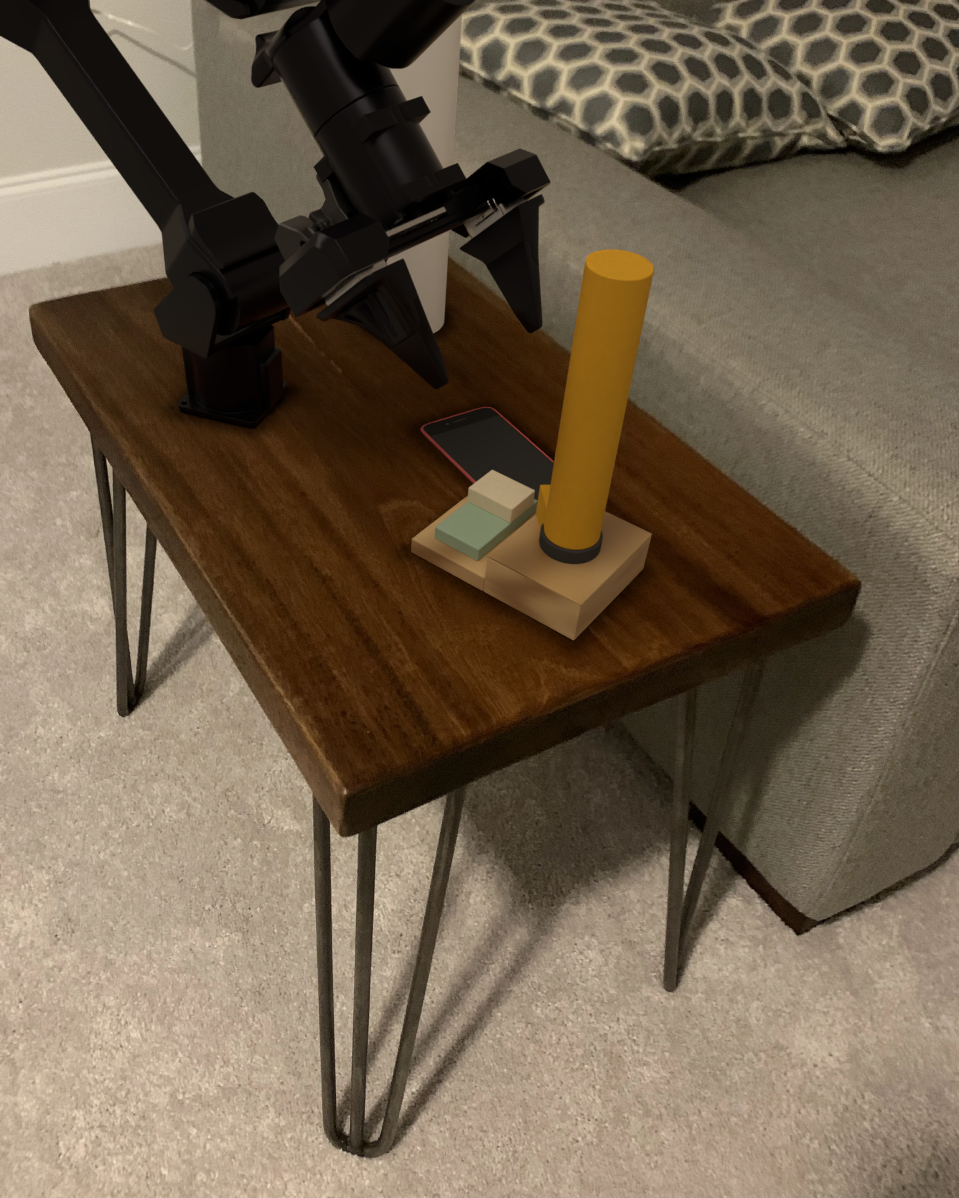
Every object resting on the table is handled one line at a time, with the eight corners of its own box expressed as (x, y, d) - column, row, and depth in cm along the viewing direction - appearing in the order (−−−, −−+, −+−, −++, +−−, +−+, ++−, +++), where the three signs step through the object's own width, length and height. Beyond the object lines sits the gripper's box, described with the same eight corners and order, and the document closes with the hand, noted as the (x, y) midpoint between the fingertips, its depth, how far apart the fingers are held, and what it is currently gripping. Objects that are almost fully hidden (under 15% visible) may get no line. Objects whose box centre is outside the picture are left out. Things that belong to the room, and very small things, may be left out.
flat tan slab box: (410, 552, 70) (412, 516, 68) (488, 491, 75) (491, 456, 73) (573, 641, 65) (581, 605, 63) (643, 569, 70) (652, 533, 68)
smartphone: (518, 526, 72) (415, 425, 81) (517, 533, 73) (415, 432, 81) (596, 497, 75) (490, 403, 84) (595, 503, 76) (489, 409, 84)
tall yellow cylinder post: (606, 563, 66) (666, 282, 53) (544, 565, 65) (590, 281, 52) (589, 512, 69) (642, 238, 56) (531, 513, 69) (570, 236, 56)
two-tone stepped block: (477, 561, 68) (480, 535, 66) (434, 538, 69) (435, 512, 68) (536, 511, 72) (540, 486, 71) (494, 490, 73) (497, 465, 72)
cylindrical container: (356, 302, 95) (355, -6, 78) (432, 296, 97) (447, -6, 80) (374, 341, 90) (377, 21, 73) (453, 334, 92) (474, 21, 75)
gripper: (391, 147, 71) (502, 349, 75) (175, 225, 60) (316, 459, 63) (490, 53, 63) (611, 286, 66) (260, 124, 52) (418, 401, 55)
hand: (491, 357), depth 63 cm, fingers open, 9 cm apart
